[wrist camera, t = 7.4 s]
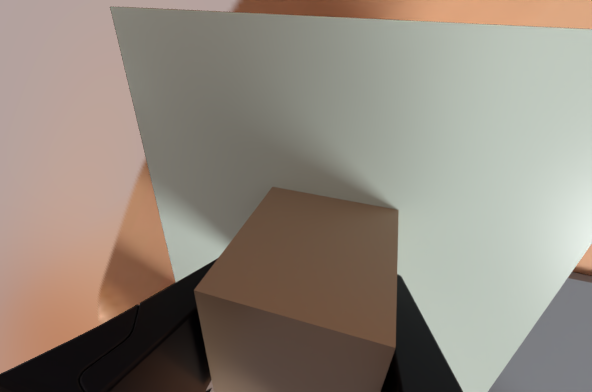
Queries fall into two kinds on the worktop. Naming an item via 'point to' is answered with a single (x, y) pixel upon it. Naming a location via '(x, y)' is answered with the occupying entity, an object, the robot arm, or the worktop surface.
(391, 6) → the worktop surface
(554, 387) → the mat
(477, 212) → the lid
